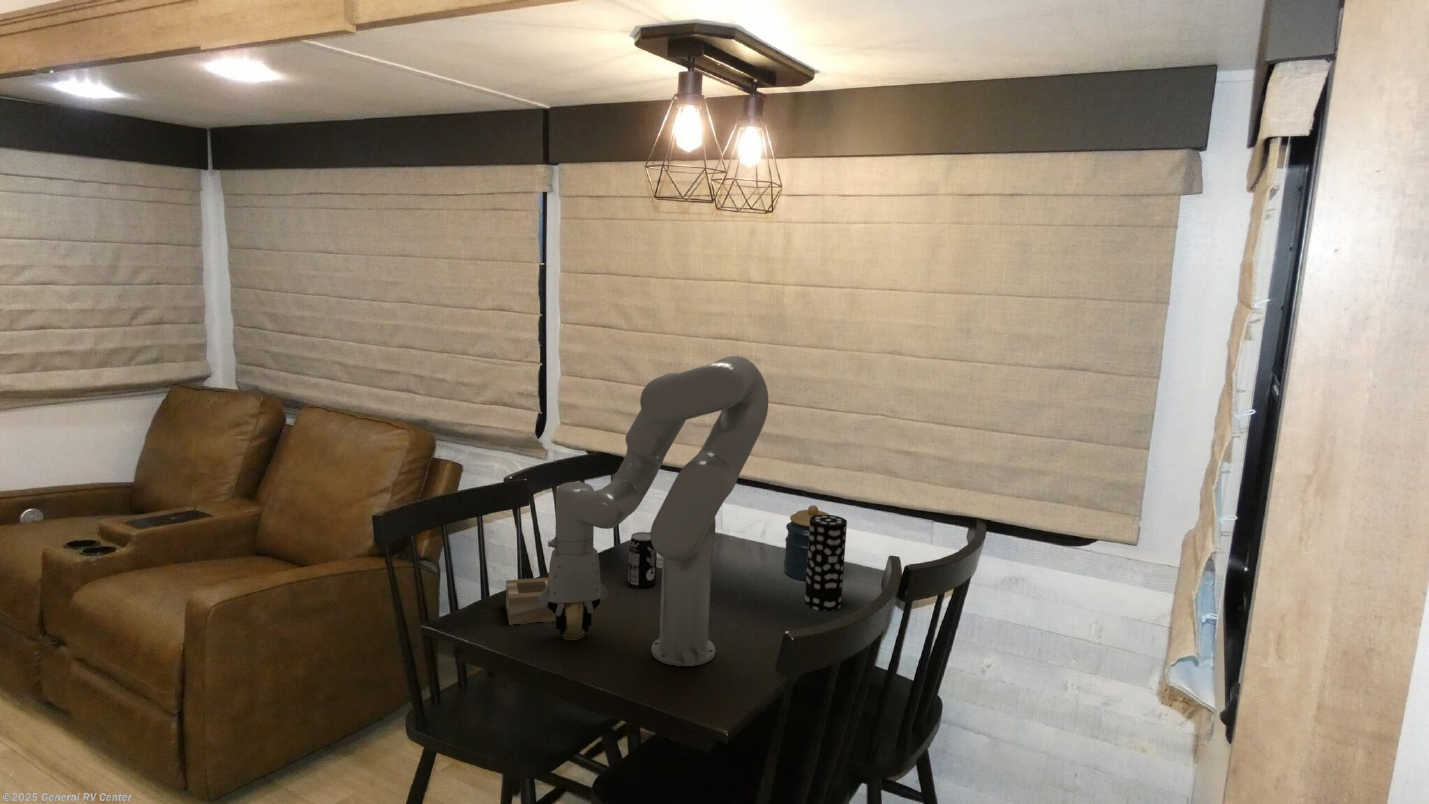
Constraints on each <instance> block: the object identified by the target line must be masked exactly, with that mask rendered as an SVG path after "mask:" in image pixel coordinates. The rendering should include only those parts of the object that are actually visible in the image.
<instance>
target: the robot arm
mask: <svg viewBox="0 0 1429 804" xmlns="http://www.w3.org/2000/svg"><path fill="white" fill-rule="evenodd" d="M768 391H769V390H768V386H767V383H766V381H765V379H764V377H763V375H762V373H761V371H760V370H759V368H758V367H757V366H756V365H755V364H754V363H753V362H752V361H750V360H749V359H748V358H746V357H743V356H738V355H734V356H733V355H730V356H726V357H723V358H721V359H719V360H717V361H714V362H712V363H709V364H705V365H702V366H699V367H695V368H693V369H689V370H685V371H682V372H678V373H677V372H675V373H674V372H671V373H665V374H664V375H660V376H659V377H656V378H654V379H652V380H650V381H649V382H648V383H647V384H646V385H645V387H644V388H643V390H642V392H641V394H640V410H639V412H638V413H637V416H636V417H635V419H634V421H633V423H632V425H631V426H630V428H629V429H628V431H627V432H626V435H625V444H626V448H627V449H626V453H625V456H624V458H623V461H622V462H621V464H620V467H619V468H618V470H617V471H616V473H615V475H614V477H613V478H612V480H611V481H610V482H609V483H608V484H607V485H605V486H603V488H601V489H597V490H594V487H593V486H592V485H591V484H589V483H586V482H582V481H570V482H564V483H561V484H560V485H558V487H557V488H556V491H555V535H554V538H553V539H551V540H550V539H549V540H547V547H548V548H552V549H553V548H554V549H553V550H552V551H551V555H550V560H549V568H548V569H549V570H548V577H547V578H548V585H547V586H546V587H545V589H544V590H543V591H542V593H541V594H540V596H539V597H538V601H539V603H541V604H543V605H544V606H547V607H548V608H549V609H550V610H551V611H552V612H554V613H555V614H556V621H555V630H558V632H559V635H560V636H562V635H563V634H564V615H563V606H564V603H576V602H585V616H584V633H589V627H592V619H593V618H592V614H593V613H594V611H595V609H597V607H598V606H599V605H600V604H601V603H602V602H603V601H605V600H606V599H608V598H609V597H610V593H609V592H608V590H607V589H606V588H605V586H604V584H602V582H601V570H600V569H601V567H600V566H601V565H600V559H599V553H598V550H597V549H596V548H595V547H594V541H595V540H594V537H595V536H594V535H595V534H594V530H595V529H594V528H598V529H604V530H610V529H613V528H616V527H618V526H619V525H620V524H621V523H623V522H624V521H625V520H626V519H627V518H628V517H629V516H631V515H632V514H633V513H634V512H635V511H636V510H637V509H638V507H639V506H640V504H641V503H642V501H643V499H644V498H645V497H646V494H647V493H648V491H649V489H650V488H651V486H652V484H653V483H654V481H655V478H656V477H657V475H658V472H659V471H660V468H661V466H662V465H663V463H664V459H665V458H666V456H667V454H668V452H669V450H670V448H671V447H672V445H673V443H674V442H675V439H676V438H677V436H678V434H679V433H680V431H681V429H682V427H683V426H684V424H685V423H686V421H687V420H691V419H694V418H699V417H701V416H702V417H703V416H706V415H709V414H713V413H717V412H720V413H719V415H718V417H717V418H716V420H715V422H714V423H713V425H712V428H711V430H710V432H709V434H708V436H707V438H706V440H705V442H704V443H703V446H702V447H701V448H700V450H699V452H698V453H697V454H696V455H695V456H694V457H692V459H690V460H689V461H688V462H687V463H685V465H684V466H683V467H682V468H681V470H680V471H679V472H678V474H677V475H676V477H675V479H674V481H673V483H672V485H671V487H670V489H669V490H668V493H667V495H666V496H665V499H664V500H663V503H662V505H661V506H660V508H659V510H658V512H657V514H656V516H655V518H654V520H653V521H652V524H651V529H650V533H651V542H652V545H653V547H654V549H655V551H656V552H657V553H658V554H659V555H660V556H661V557H663V565H662V569H661V589H660V590H661V591H660V595H661V596H660V617H659V618H660V620H659V621H660V622H659V638H657V639H656V640H655V641H653V642H652V644H651V655H652V657H653V658H654V659H656V660H657V661H659V662H661V663H662V664H664V665H669V666H672V665H675V666H674V667H680V666H684V668H685V667H686V666H691V667H696V666H695V665H697V666H701V664H702V665H704V664H706V663H708V662H710V661H711V660H713V659H714V657H715V656H716V646H715V644H714V642H712V641H711V640H709V624H710V622H709V621H710V601H711V597H710V596H711V580H712V564H713V562H712V560H713V551H714V550H713V549H714V543H715V538H716V537H715V534H716V526H717V525H716V522H717V520H716V516H717V514H718V512H719V510H720V508H721V506H722V505H723V504H724V502H725V500H726V499H727V498H728V497H729V495H730V494H731V493H732V491H733V490H734V488H735V486H736V483H737V481H738V479H739V477H740V474H741V472H742V470H743V469H744V466H745V464H746V462H747V460H748V459H749V457H750V455H751V453H752V450H753V448H754V447H755V445H756V443H757V440H758V439H759V436H760V434H761V432H762V430H763V428H764V426H765V422H766V420H767V416H768V411H769V392H768ZM548 596H549V597H550V600H549V599H548ZM686 668H687V667H686Z"/></svg>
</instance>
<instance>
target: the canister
mask: <svg viewBox="0 0 1429 804" xmlns="http://www.w3.org/2000/svg"><path fill="white" fill-rule="evenodd" d="M815 515H830V514H829V513H828V512H825V511H821V510H819V508H818V506H816V505H813V504H812V505H810V506H809V507H808V509H802V510H797V511H796V513H793V514H791V515H790V517H789V519H790V522H788V523H787V524H786V525H785V529H786V531H787V536H785V553H784V561H783V568H784V573H785V572H786V573H787V574H786V573H785V574H786V575H787V576H788V577H790V576H791V578H793V579H795V578H796V580H799V581H804V580H806V574H807V558H808V542H809V526H810V517H812V516H815Z"/></svg>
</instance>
